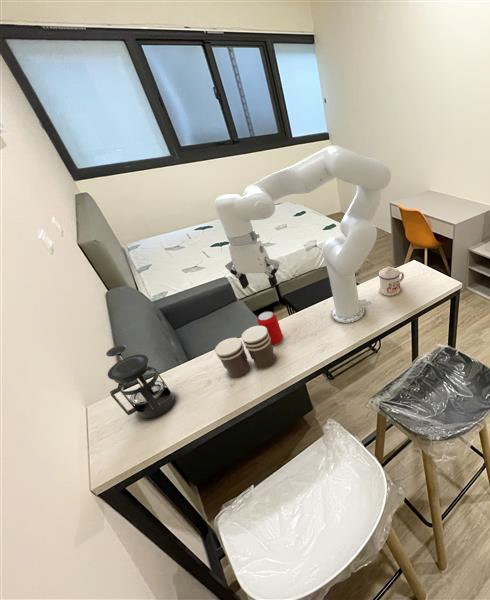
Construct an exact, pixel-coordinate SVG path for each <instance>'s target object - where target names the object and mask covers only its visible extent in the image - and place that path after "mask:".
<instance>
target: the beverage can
mask: <svg viewBox="0 0 490 600" xmlns="http://www.w3.org/2000/svg"><path fill="white" fill-rule="evenodd" d="M277 317H278V316H277V315H276V314H275V313H273V312H272V311H264V312H262V313H260V314H259V315H258V317H257V325H258V326H264V327H266V328H267V331H268V333H269V336H270V339H271V341H270V342H271V344H272V347H274V346H277V345H280V344H281V343H282V342H283V341H284V335H283V332H282V329H281V326H280V323H279V320H278V318H277Z"/></svg>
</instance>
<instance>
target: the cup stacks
mask: <svg viewBox="0 0 490 600" xmlns="http://www.w3.org/2000/svg"><path fill="white" fill-rule="evenodd" d="M270 341H271V339H270V336H269V333H268V331H267V328H266V327H264V326H259V325H253V326H251V327H249V328H247V329H246V330H244V331H243V333H242V334H241V339H240V338H239V337H231V338H230V337H229V338H225V339H223V340H222V341H220V342H219V343H218V344H216V346H215V347H214V353H215V354H216V356H217V358H218V359H219V360H220V361H221V364H222V365H223V368H224V369H226V371H227V373H228V374H229V376H230V377H231V378H233V379H235V378H241V377H244V376H245V375H246V374H248V373H249V372H250V369H251V365H250V363H249V361H248V356H247V353H246V350H247V351H248V354H249V356H250V358H251V359H252V360H253V362H254V365H255V366H256V368H258V369H267V368H270V367H271V366H272V365H274V363H275V362H276V356H275V353H274V346H272V344H271V342H270ZM245 349H246V350H245Z"/></svg>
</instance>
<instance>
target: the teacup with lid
mask: <svg viewBox="0 0 490 600" xmlns="http://www.w3.org/2000/svg"><path fill="white" fill-rule="evenodd" d="M400 275H401V277H400ZM378 277H379V286H380V287H379V289H380V293H381V294H382V295H383V296H389V297H391V296H392V297H393V296H396V295H397V294H399V293H400V292H401V283H402V282H403V281H404V278H405V273H404V272H403V271H400V270H399V269H398V268H396V267H391V266H386V267H385V268H382V269H380V270H379V271H378Z"/></svg>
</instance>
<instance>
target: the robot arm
mask: <svg viewBox="0 0 490 600" xmlns="http://www.w3.org/2000/svg"><path fill="white" fill-rule="evenodd" d="M391 178H392V173H391V170H390V167H389V166H388V165H387V164H386V163H385V162H383V161H381V160H378V159H375V158H373V157H370V156H366V155H362V154H360V153H358V152H355V151H352V150H350V149H347V148H345V147H343V146H340V145H336V144H335V145H333V144H332V145H328V146H326V147H325V148H322V149H321V150H319V151H317V152H315V153H313V154H312V155H309V156H308V157H306V158H304V159H303V160H301V161H299V162H298V163H295V164H294V165H291V166H289V167H286V168H283V169H281V170H278V171H276V172H273V173H271V174H268V175H266V176H264V177H263V178H261V179H259V180H257V181H255V182H253V183H252V184H250V185H248V186H247V187H246V188H245V189H244V191H243V192H242V193H243V194H242V196H241V195H239V194H234V193H232V194H224V195H221V196H219V197H217V198H215V199H214V208H215V210H216V213H217V215H218V218H219V221H220V223H221V226H222V228H223V230H224V233H225V235H226V239H227V241H228V251H229V255H230V259H231V260H230V261H228V262H227V263H226V264H225V266H224V267H225V268H226V269H227V270H228V271H229V273H230V274H232V275H233V276H234V277H235V278H236V279H238V281H239V285H240V286H241V288H242V289H243V290H245V289H246V288H248V286H249V285H250V282H249V280H248V278H247V275H246V274H265V275H266V276H268V278H267V280H268V283H269V286H270V288H271V289H274V288H275V287H276V286H277V284H278V280H277V276H276V273H277V272H278V271H279V268H280V262H279V261H277V260H274V259H271V258H270V257H269V254H268V252H267V249H266V247H265V245H264V244H263V242H262V241H261V239H260V234H259V233H256V232H255V230H254V227H253V225H252V222H251V221H260V220H266V219H269V218H271V217H273V215H274V214H275V211H276V204H275V202H276V201H277V200H280V199H282V198H284V197H286V196H290V195H298V194H299V195H301V194H303V195H305V194H309V193H312V192H314V191H315V190H317V189H318V188H320V187H322V186H324V185H325V184H327V183H329V182H330V181H332V180H334V179H337V180H340V181H342V182H345V183H348V184H352V185H355V186H356V193H355V196H354V198H353V200H352V201H351V204H350V205H349V207H348V209H347V210H346V212H345V214H344V216H343V217H342V219H341V221H340V223H339V229H340V232H341V234H342V235H343V236H344V237H345V238H346V239H343V238H341V237H331V238H329V239H327V240H326V241H325V243H324V244H323V247H322V256H323V261H324V264H325V267H326V271H327V274H328V278H329V284H330V289H331V294H332V298H333V299H332V300H333V304H334V307H333V310H332V311H331V312H332V318H333V320H335V321H336V322H339V323H343V324H345V323H346V324H349V323H353V322H356V321H358V320H359V319H361V318H362V317H363V316H364V314H365V307H368V306H372V301H371V300H370V299H369V300H367V299H366V298H362V299H359V298H360V297H359V292H358V286H357V278H356V273H357V272H358V271H359V270H360V269H361V268H362V266H363V264H364V262H365V261H366V259H367V258H368V256H369V254H370V252H371V251H372V249H373V247H374V246H375V244H376V241H377V237H378V230H377V227H376V225H375V223H373V221H372V220H373V218H374V216H375V214H376V212H377V210H378V208H379V207H380V203H381V199H382V190H384V189H386V188H387V187H388V186H389V184H390V182H391ZM271 266H272V267H273V268H272V267H271Z"/></svg>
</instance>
